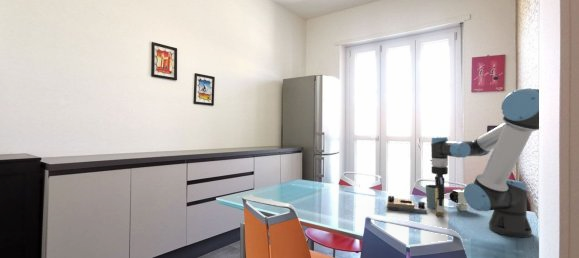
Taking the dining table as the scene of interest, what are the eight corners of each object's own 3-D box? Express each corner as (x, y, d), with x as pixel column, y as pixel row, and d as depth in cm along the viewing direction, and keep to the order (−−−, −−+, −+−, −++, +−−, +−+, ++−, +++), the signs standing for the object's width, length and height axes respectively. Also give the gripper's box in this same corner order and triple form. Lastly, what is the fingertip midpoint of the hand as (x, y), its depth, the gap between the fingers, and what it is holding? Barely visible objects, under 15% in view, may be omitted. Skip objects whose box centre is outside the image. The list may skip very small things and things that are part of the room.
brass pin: (444, 216, 145) (444, 189, 145) (435, 216, 146) (435, 189, 146) (443, 214, 149) (443, 188, 149) (434, 213, 150) (434, 187, 150)
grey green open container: (433, 210, 157) (433, 188, 157) (421, 205, 167) (421, 185, 167) (449, 208, 160) (449, 187, 160) (435, 203, 170) (435, 184, 169)
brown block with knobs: (426, 213, 151) (426, 201, 150) (387, 210, 158) (387, 198, 157) (424, 207, 162) (424, 196, 162) (387, 204, 169) (387, 193, 169)
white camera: (474, 211, 155) (474, 189, 155) (454, 211, 154) (454, 190, 154) (467, 208, 160) (467, 187, 160) (448, 208, 159) (448, 187, 159)
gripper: (429, 163, 157) (429, 205, 157) (433, 168, 141) (433, 214, 141) (444, 164, 154) (444, 206, 154) (450, 168, 138) (450, 216, 138)
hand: (439, 210), depth 147 cm, fingers closed on brass pin, 4 cm apart
